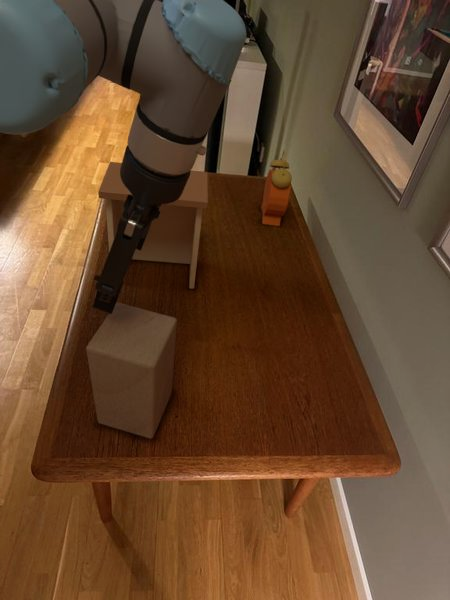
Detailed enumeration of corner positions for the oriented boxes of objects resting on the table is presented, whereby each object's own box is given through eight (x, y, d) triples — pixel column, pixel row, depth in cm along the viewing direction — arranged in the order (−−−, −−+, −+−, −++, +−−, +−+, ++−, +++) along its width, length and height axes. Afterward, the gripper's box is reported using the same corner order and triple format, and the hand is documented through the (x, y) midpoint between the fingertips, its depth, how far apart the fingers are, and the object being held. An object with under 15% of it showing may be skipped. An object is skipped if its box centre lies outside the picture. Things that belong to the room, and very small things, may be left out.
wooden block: (96, 423, 68) (84, 347, 54) (121, 377, 75) (116, 300, 62) (152, 440, 67) (154, 367, 54) (172, 392, 74) (178, 317, 61)
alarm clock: (281, 229, 122) (298, 166, 108) (261, 226, 121) (276, 163, 108) (278, 207, 131) (293, 147, 118) (259, 204, 131) (273, 144, 117)
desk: (197, 294, 95) (208, 202, 79) (106, 287, 93) (98, 191, 76) (197, 260, 105) (207, 172, 88) (115, 253, 102) (110, 161, 86)
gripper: (163, 240, 37) (115, 351, 52) (210, 124, 54) (164, 233, 69) (83, 205, 35) (58, 330, 50) (158, 97, 52) (122, 215, 67)
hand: (119, 275), depth 60 cm, fingers open, 13 cm apart
